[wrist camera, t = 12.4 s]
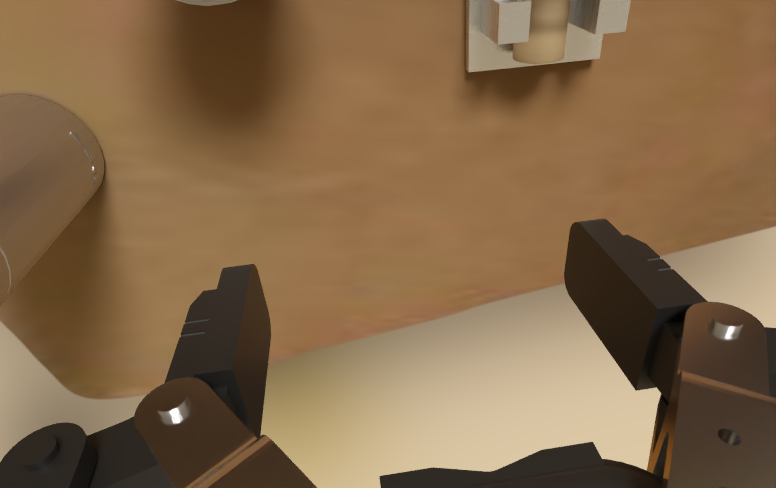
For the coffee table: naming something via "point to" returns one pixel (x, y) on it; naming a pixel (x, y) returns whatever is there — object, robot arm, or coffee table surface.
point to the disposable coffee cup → (206, 2)
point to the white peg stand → (511, 25)
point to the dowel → (544, 33)
